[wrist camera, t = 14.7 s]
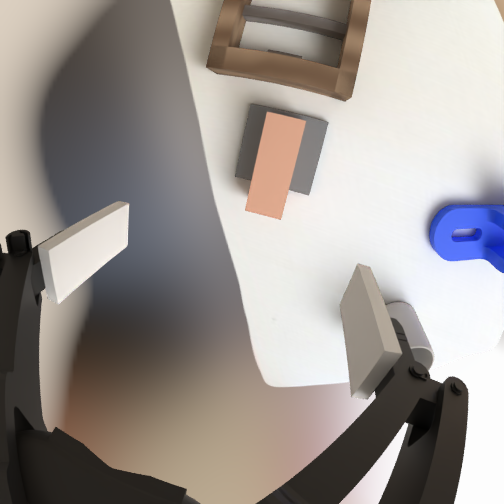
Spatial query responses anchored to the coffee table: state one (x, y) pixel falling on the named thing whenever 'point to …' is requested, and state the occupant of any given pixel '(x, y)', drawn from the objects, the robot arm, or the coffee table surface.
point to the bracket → (471, 247)
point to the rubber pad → (306, 154)
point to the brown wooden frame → (284, 64)
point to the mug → (412, 332)
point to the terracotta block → (274, 164)
